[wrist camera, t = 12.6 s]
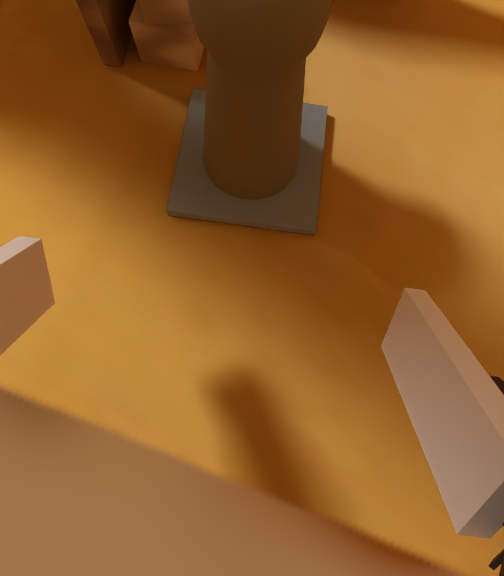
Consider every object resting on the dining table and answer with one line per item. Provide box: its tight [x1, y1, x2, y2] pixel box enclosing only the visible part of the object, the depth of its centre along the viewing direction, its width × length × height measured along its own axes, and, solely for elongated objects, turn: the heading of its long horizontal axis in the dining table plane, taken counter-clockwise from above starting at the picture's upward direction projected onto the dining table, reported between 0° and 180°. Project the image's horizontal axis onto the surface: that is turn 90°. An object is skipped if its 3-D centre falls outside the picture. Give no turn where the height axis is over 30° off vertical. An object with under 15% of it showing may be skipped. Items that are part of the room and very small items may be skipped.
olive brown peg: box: [188, 0, 332, 200], centre depth 16 cm, size 6×6×11 cm
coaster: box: [166, 88, 328, 235], centre depth 21 cm, size 9×9×1 cm
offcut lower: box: [129, 0, 204, 72], centre depth 23 cm, size 4×7×3 cm, turn 169°
